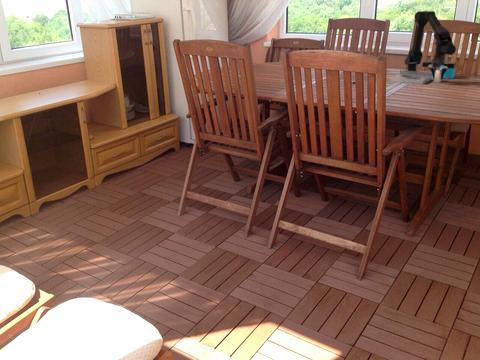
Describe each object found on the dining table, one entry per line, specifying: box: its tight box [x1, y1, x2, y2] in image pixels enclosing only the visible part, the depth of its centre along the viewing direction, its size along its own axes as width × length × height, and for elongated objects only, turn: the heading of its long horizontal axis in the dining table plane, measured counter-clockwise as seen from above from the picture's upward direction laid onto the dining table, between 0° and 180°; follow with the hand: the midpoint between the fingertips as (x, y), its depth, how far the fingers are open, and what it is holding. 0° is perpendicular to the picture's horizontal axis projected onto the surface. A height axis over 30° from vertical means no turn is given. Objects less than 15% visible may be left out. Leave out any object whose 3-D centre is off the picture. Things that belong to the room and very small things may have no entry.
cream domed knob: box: [433, 69, 442, 83], centre depth 299 cm, size 4×4×7 cm
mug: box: [439, 62, 456, 79], centre depth 309 cm, size 12×8×8 cm
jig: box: [390, 69, 433, 85], centre depth 306 cm, size 16×20×4 cm
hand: (437, 79), depth 300 cm, fingers closed on cream domed knob, 4 cm apart
